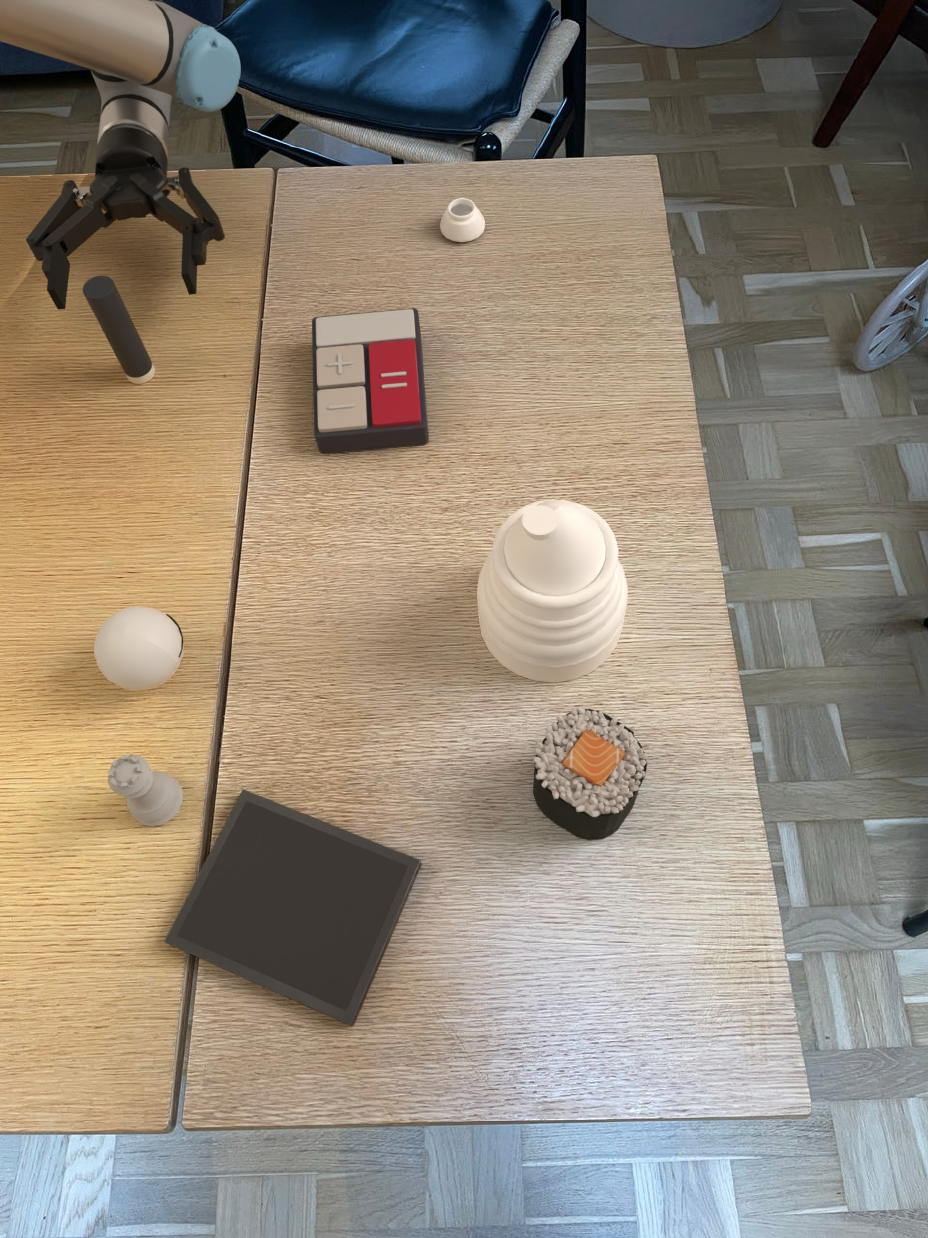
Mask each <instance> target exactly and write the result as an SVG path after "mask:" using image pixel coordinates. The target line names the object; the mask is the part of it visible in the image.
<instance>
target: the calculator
mask: <svg viewBox="0 0 928 1238" xmlns="http://www.w3.org/2000/svg"><path fill="white" fill-rule="evenodd" d="M420 323H421V322H420V315H419V310H418V309H417V308H416V307H412V308H411V307H409V308H399V309H398V308H397V309H389V310H388V309H387V310H378V311H377V310H376V311H367V312H357V313H354V312H353V313H344V314H333V315H322V316H314V317H313V318H312V320H311V335H312V336H311V340H312V341H311V344H312V347H311V349H312V351H311V352H312V396H313V397H312V398H313V399H312V401H313V404H312V405H313V436H314V439H315V442H316V446H317V449H318V452H319V453H320V454H336V453H346V452H359V451H367V450H379V449H380V450H381V449H389V448H402V447H413V446H424V445H427V444H428V443H429V441H430V436H429V424H428V422H429V421H428V410H427V397H426V386H425V372H424V357H423V343H422V342H423V341H422V331H421V324H420Z"/></svg>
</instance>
